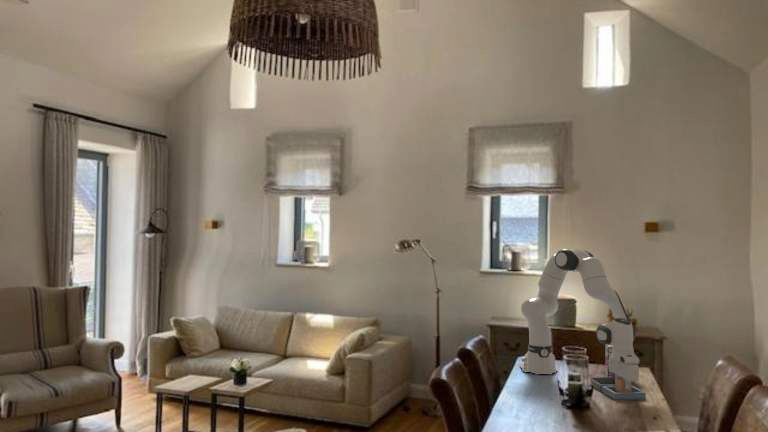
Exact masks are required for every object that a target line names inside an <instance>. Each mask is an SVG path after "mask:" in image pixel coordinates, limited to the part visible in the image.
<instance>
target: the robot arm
mask: <svg viewBox="0 0 768 432" xmlns="http://www.w3.org/2000/svg"><path fill="white" fill-rule="evenodd" d="M568 272H573V273H575V272H578V273H579V274H580V277H581V280H582V285H583V288H584V290H585V293H586V294H587V295H588V296H589V297H591V298H592V299H595V300H597V301H600V302H602V303H605V304H606V305H607V306H608V307H609V309H610V310H611V313H612V315H613V317H614V319H613V320H611V321H609V322H607V323H602V324H599V325H598V326H597V328H596V330H595V335H596V336H595V337H596V339H597V341H598V343H600V344H601V345H612V353H611V356H610V358H609V370H610V372H612V373H614V374H615V377H616V378H621V377H622V378H624V379H625V381H626V382H625V384H624V388H625V389H629V388H630V383H631V384H632V383H635V382H638V381H639V378H640V377H639V376H640V367H639V364H640V358H639V357H638V356H637V355H636V354H635V352H634V350H635V349H634V346H633V345H634V343H633V342H634V341H635V339H636V335H637V332H636V329H635V327H634V325H633V323H632V321H630V318H629V316H628V314H627V312H626V310H625V308H624V304H623V302H622V300H621V297H620V296H619V294H618V292H617V291H616V290H615V289H614V288H613V287H612V286H611V284H610V283H609V280H608V278H607V274H606V271H605V269H604V267H603V264H602V262H601V260H600V259H599V258H598V257H595V256H594V255H593V254H592V253H591V252H590V251H587V250H582V249H577V248H575V249H571V248H570V249H568V248H563V249H560V250H558V251H557V253H555V254H552V255H551V256H550V258H549V260H548V261H547V263H546V264H545V266H544V268H543V271H542V274H541V276H540V279H539V280H538V287H539V288H538V294H537V296H536V297H530V298H528V299H526V300H525V301H523V302H522V304H521V306H520V307H521V310H520V311H521V314H522V315H523V317H524V318H525V319H526V323H527V326H528V337H529V338H528V339H529V340H528V341H529V343H528V347H527V351H526V353H525V354H524V355H523V357H521V362H522V363H519V367H521V368H522V370H523V371H526V372H532V373H535V374H534V375H539V374H549V375H553V374H552V373H554V372H555V371H557V370H558V371H559V369H558V368H557V367H556V357H555V355H554V353H553V345H552V330H551V328H550V327H549V324H548V322H547V318H548V317H551V316H553V315H554V314H556V313H557V311H558V310H559V303H558V298H559V293H560V290H561V287H562V286H563V283H564V280H565V279H566V276H567V273H568ZM521 368H520V369H521ZM522 370H521V371H522ZM523 371H522V372H523ZM532 373H531V374H532ZM555 373H556V372H555ZM555 373H554V374H555Z"/></svg>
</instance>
